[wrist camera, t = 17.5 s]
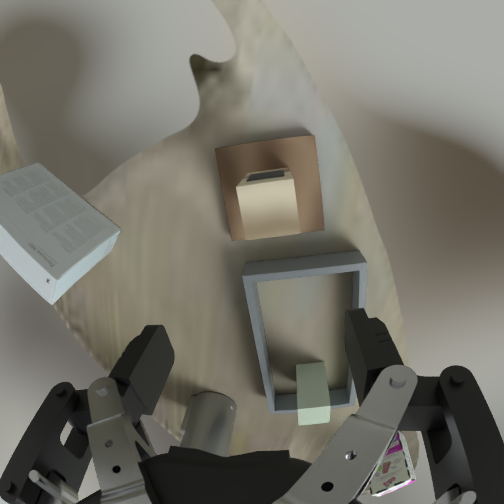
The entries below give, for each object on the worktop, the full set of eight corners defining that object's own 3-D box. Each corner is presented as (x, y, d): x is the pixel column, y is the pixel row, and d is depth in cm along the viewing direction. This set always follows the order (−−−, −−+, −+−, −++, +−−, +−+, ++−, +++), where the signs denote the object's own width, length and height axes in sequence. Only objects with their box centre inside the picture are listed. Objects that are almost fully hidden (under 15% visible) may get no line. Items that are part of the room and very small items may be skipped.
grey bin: (270, 398, 51) (269, 413, 47) (245, 262, 40) (242, 276, 36) (350, 390, 49) (354, 405, 45) (359, 250, 38) (367, 262, 34)
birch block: (247, 171, 33) (235, 185, 24) (288, 166, 33) (293, 177, 24) (254, 212, 35) (245, 240, 26) (294, 207, 35) (300, 233, 25)
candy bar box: (370, 450, 59) (378, 497, 44) (362, 446, 58) (369, 496, 43) (404, 432, 56) (417, 481, 41) (397, 428, 55) (410, 479, 40)
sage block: (297, 382, 48) (298, 425, 39) (296, 364, 47) (297, 409, 37) (324, 379, 48) (329, 422, 39) (324, 361, 46) (330, 405, 37)
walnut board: (233, 236, 38) (231, 240, 37) (217, 148, 34) (214, 148, 33) (322, 226, 37) (324, 230, 35) (312, 135, 32) (314, 135, 31)
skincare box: (31, 187, 38) (-34, 214, 23) (39, 161, 36) (-31, 181, 21) (110, 255, 42) (50, 308, 27) (122, 229, 40) (57, 277, 25)
